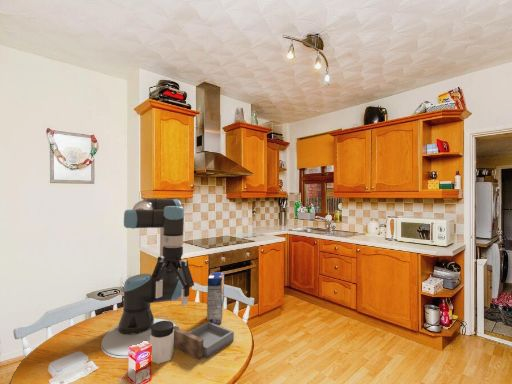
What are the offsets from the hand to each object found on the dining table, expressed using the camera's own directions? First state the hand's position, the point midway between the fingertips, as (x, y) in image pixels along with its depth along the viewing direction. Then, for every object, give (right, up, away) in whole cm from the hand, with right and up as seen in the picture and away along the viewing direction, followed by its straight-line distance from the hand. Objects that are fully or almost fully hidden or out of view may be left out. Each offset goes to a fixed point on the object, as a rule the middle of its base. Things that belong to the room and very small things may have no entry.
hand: (171, 300), depth 104 cm
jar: (-3, -21, -2) cm, 21 cm away
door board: (+5, -21, +2) cm, 22 cm away
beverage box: (+12, -22, +31) cm, 40 cm away
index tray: (+12, -21, +9) cm, 26 cm away
